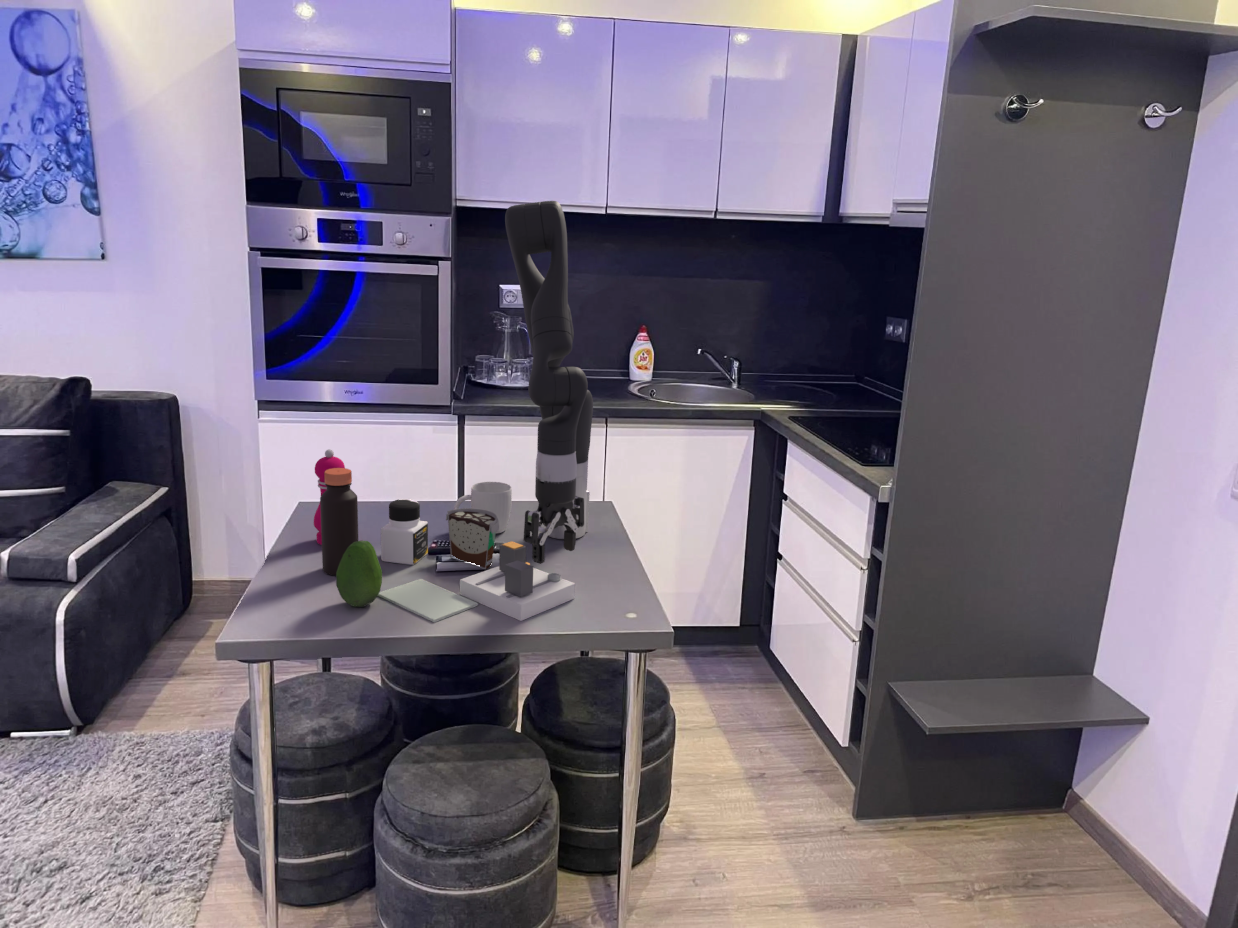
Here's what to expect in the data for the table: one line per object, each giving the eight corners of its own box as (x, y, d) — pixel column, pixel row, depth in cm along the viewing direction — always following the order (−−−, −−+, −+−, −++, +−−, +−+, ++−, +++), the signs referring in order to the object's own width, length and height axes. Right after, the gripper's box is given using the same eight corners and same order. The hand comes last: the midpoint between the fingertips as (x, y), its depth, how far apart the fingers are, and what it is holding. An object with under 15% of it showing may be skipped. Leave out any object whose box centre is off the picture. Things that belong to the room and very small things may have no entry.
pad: (421, 580, 171) (421, 578, 171) (477, 605, 162) (477, 603, 162) (377, 595, 164) (377, 593, 164) (434, 622, 154) (434, 619, 154)
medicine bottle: (414, 565, 179) (413, 508, 176) (380, 561, 180) (379, 504, 177) (428, 553, 185) (428, 498, 182) (396, 549, 187) (395, 494, 184)
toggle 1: (510, 565, 172) (511, 540, 171) (525, 571, 170) (526, 545, 169) (499, 569, 170) (499, 543, 169) (514, 575, 168) (514, 549, 166)
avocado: (390, 598, 163) (389, 536, 160) (369, 616, 155) (367, 551, 152) (350, 593, 164) (348, 531, 161) (327, 609, 157) (325, 545, 154)
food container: (511, 562, 183) (512, 516, 181) (491, 571, 178) (492, 523, 175) (465, 548, 189) (466, 503, 187) (445, 556, 184) (445, 510, 182)
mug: (508, 522, 207) (509, 481, 204) (513, 535, 199) (514, 492, 196) (452, 524, 204) (452, 482, 202) (455, 537, 196) (455, 493, 193)
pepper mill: (318, 534, 193) (315, 444, 188) (353, 535, 194) (350, 445, 188) (310, 546, 186) (306, 453, 181) (346, 547, 187) (343, 454, 182)
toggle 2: (516, 586, 163) (517, 560, 162) (532, 592, 160) (533, 566, 159) (504, 590, 161) (505, 564, 159) (520, 597, 158) (521, 570, 157)
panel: (514, 574, 177) (514, 556, 176) (574, 598, 167) (575, 579, 166) (459, 594, 166) (460, 575, 165) (520, 620, 156) (521, 600, 155)
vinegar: (344, 560, 179) (341, 464, 174) (366, 569, 176) (364, 471, 170) (315, 570, 174) (311, 471, 169) (337, 579, 170) (334, 478, 165)
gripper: (566, 462, 173) (564, 541, 177) (514, 477, 162) (513, 561, 167) (596, 470, 169) (593, 551, 173) (544, 486, 158) (543, 572, 162)
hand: (554, 555), depth 170 cm, fingers open, 8 cm apart
